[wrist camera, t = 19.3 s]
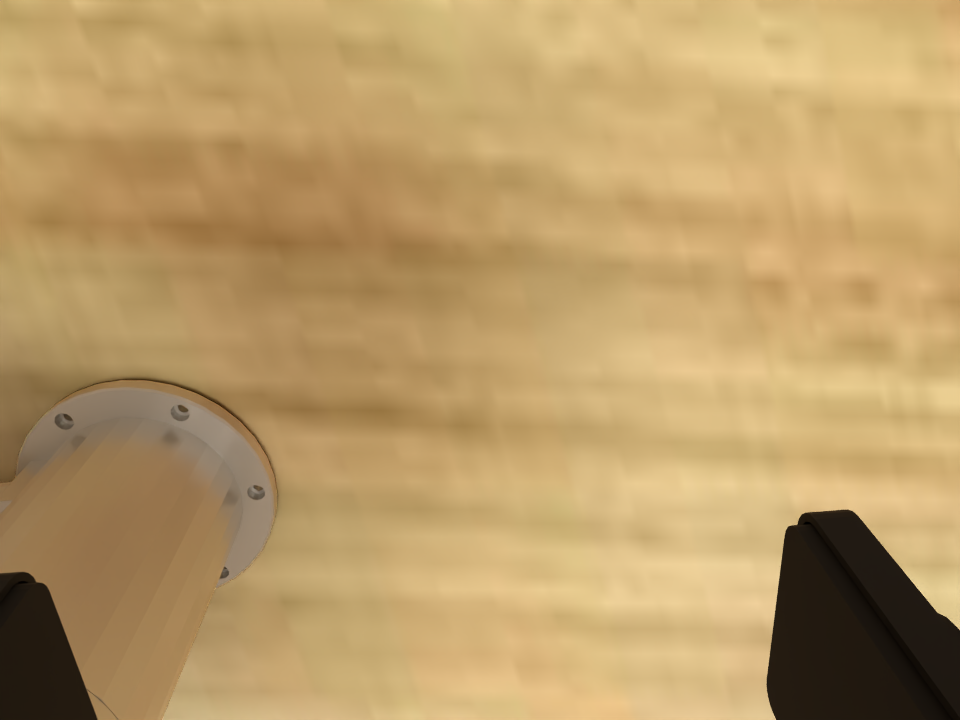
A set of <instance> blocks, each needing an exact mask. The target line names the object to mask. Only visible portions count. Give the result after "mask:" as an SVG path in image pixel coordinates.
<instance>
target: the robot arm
mask: <svg viewBox="0 0 960 720" xmlns="http://www.w3.org/2000/svg"><path fill="white" fill-rule="evenodd" d="M182 405H183V406H184V407H186V408H184V407H183V406H182ZM15 476H16V477H15V479H14V480H13V481H12V482H4V483H0V720H162V718H163V716H164V714H165V711H166V709H167V706H168V704H169V701H170V699H171V696H172V694H173V691H174V689H175V686H176V684H177V681H178V679H179V677H180V674H181V672H182V669H183V667H184V664H185V662H186V659H187V657H188V654H189V652H190V649H191V647H192V645H193V642H194V640H195V637H196V635H197V632H198V630H199V627H200V625H201V622H202V620H203V617H204V615H205V612H206V610H207V608H208V605H209V603H210V600H211V598H212V595H213V593H214V590H215V588H218V587H220V586H222V585H223V584H225V583H227V582H229V581H231V580H233V579H235V578H236V577H237V576H239V575H240V574H241V573H242V572H243V571H245V570H246V569H247V568H248V567H249V566H251V564H252V563H253V562H254V561H255V559H256V558H257V557H258V556H259V554H260V553H261V552H262V550H263V548H264V546H265V544H266V542H267V540H268V538H269V535H270V533H271V530H272V527H273V523H274V520H275V517H276V509H277V497H278V496H277V489H276V482H275V476H274V474H273V471H272V468H271V466H270V463H269V460H268V458H267V456H266V454H265V453H264V451H263V449H262V448H261V446H260V445H259V443H258V442H257V440H256V438H255V437H254V436H253V435H252V434H251V433H250V432H249V431H248V430H247V428H246V427H245V426H244V425H243V424H242V423H241V422H240V421H239V420H238V419H236V418H235V417H234V416H233V415H231V414H230V413H229V412H227V411H226V410H225V409H223V408H222V407H221V406H219V405H218V404H216V403H214V402H212V401H210V400H208V399H206V398H205V397H203V396H201V395H199V394H197V393H194V392H191V391H188V390H186V389H183V388H180V387H177V386H174V385H170V384H164V383H159V382H153V381H147V380H118V381H112V382H106V383H100V384H95V385H93V386H90V387H87V388H84V389H82V390H79V391H76V392H74V393H72V394H71V395H69V396H68V397H66V398H64V399H63V400H61V401H59V402H58V403H56V404H55V405H54V406H53V407H52V408H51V409H50V410H49V411H48V412H47V413H46V414H44V415H43V416H42V417H41V418H40V419H39V420H38V422H37V423H36V424H35V426H34V427H33V428H32V429H31V431H30V432H29V433H28V434H27V436H26V438H25V440H24V443H23V445H22V447H21V450H20V452H19V454H18V460H17V467H16V473H15ZM767 693H768V698H769V702H770V705H771V708H772V711H773V713H774V716H775V718H776V720H960V630H959V629H958V628H957V627H956V626H955V625H954V624H953V623H952V622H951V621H950V620H949V619H948V618H947V617H945V616H943V615H941V614H939V613H937V612H936V611H935V609H934V608H933V607H932V606H931V604H930V603H929V602H928V601H927V600H926V598H925V597H924V596H923V595H922V594H921V592H920V591H919V590H918V589H917V587H916V586H915V585H914V584H913V583H912V581H911V580H910V579H909V578H908V576H907V575H906V574H905V573H904V572H903V570H902V569H901V568H900V567H899V565H898V564H897V563H896V562H895V561H894V559H893V558H892V557H891V556H890V554H889V553H888V552H887V551H886V550H885V548H884V547H883V546H882V545H881V543H880V542H879V541H878V540H877V539H876V537H875V536H874V535H873V534H872V532H871V531H870V530H869V529H868V528H867V526H866V525H865V524H864V523H863V521H862V520H861V519H860V518H859V517H858V516H857V515H856V514H855V513H854V512H853V511H850V510H836V511H823V512H810V513H804V514H802V515H801V517H800V518H799V521H798V525H793V526H789V527H788V528H787V530H786V533H785V538H784V546H783V554H782V562H781V570H780V578H779V586H778V594H777V602H776V610H775V618H774V626H773V634H772V642H771V650H770V658H769V666H768V674H767Z"/></svg>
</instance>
